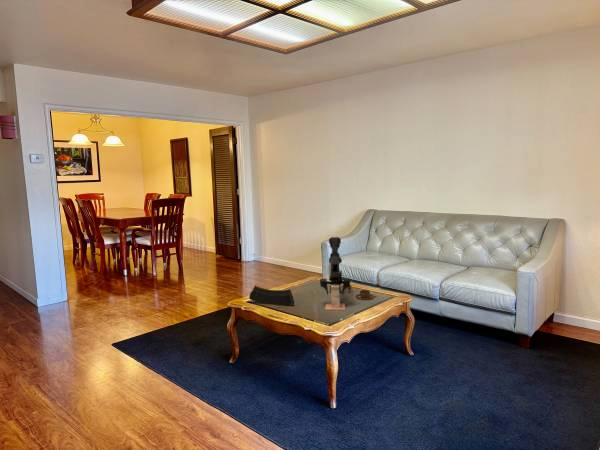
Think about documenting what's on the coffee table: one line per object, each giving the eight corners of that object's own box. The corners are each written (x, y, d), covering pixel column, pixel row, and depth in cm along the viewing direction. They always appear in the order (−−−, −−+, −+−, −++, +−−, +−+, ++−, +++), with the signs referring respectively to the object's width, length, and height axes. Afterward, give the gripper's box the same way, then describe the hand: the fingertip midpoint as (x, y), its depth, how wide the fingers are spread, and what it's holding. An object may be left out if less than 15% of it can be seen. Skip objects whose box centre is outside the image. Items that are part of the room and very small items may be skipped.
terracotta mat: (325, 304, 261) (325, 303, 261) (344, 304, 260) (344, 303, 260) (325, 309, 249) (325, 309, 249) (345, 310, 248) (345, 309, 248)
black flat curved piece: (298, 291, 259) (256, 275, 268) (296, 292, 256) (254, 276, 265) (291, 315, 263) (250, 299, 271) (289, 317, 260) (248, 300, 268)
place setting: (354, 301, 266) (354, 293, 266) (346, 293, 286) (346, 285, 286) (380, 300, 269) (380, 291, 268) (370, 292, 289) (370, 283, 288)
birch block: (331, 305, 257) (331, 284, 256) (339, 305, 257) (339, 284, 256) (331, 307, 252) (330, 286, 251) (339, 307, 252) (339, 286, 251)
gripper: (320, 266, 259) (319, 287, 249) (349, 266, 257) (350, 288, 247) (320, 275, 267) (320, 296, 258) (349, 275, 266) (350, 296, 256)
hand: (335, 294), depth 254 cm, fingers open, 9 cm apart
